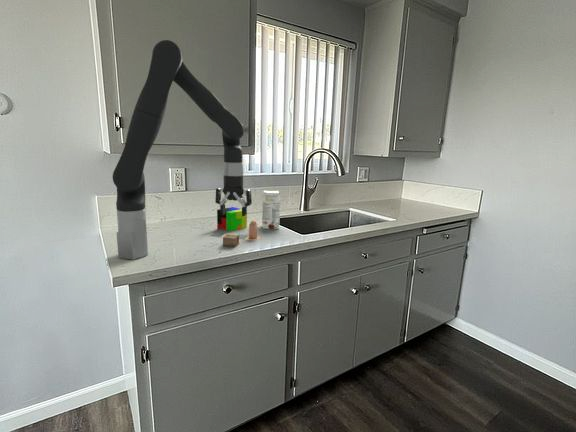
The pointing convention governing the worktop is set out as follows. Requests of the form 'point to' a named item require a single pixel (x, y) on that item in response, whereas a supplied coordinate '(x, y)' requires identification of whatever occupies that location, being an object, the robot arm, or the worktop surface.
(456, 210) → the worktop surface
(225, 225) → the puzzle toy
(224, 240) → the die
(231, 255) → the worktop surface
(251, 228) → the pawn
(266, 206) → the white supplement bottle
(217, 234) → the track
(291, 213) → the worktop surface
